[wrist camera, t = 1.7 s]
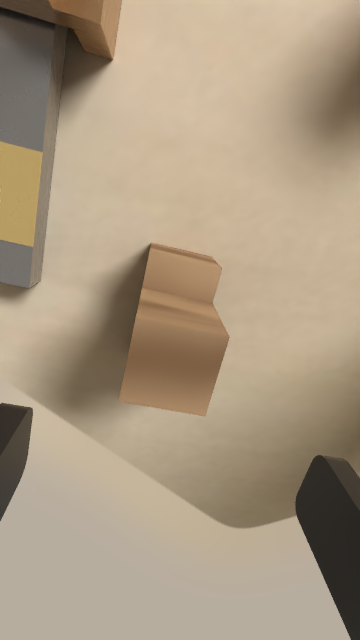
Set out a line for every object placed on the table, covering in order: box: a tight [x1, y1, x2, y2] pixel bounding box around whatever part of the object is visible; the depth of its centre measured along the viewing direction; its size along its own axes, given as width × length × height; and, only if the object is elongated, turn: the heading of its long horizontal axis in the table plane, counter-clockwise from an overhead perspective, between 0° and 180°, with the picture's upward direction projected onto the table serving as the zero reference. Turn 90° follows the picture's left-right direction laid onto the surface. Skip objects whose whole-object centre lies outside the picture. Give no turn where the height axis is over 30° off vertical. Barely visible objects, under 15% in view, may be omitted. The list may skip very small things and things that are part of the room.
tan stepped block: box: [118, 243, 229, 416], centre depth 19 cm, size 8×4×9 cm, turn 167°
